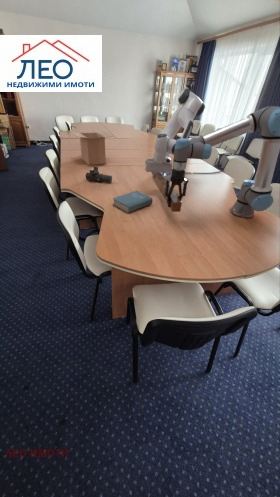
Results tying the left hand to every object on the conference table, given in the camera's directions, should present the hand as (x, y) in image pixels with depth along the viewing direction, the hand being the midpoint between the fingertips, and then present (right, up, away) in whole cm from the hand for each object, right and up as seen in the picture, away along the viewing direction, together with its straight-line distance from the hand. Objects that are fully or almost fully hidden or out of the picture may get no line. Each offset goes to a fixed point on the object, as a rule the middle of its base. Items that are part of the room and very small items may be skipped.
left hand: (157, 177), depth 171 cm
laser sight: (-49, +3, +19) cm, 53 cm away
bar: (+4, -15, -15) cm, 22 cm away
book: (-19, -24, -14) cm, 34 cm away
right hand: (+7, -28, -32) cm, 43 cm away
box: (-64, +39, +66) cm, 100 cm away
